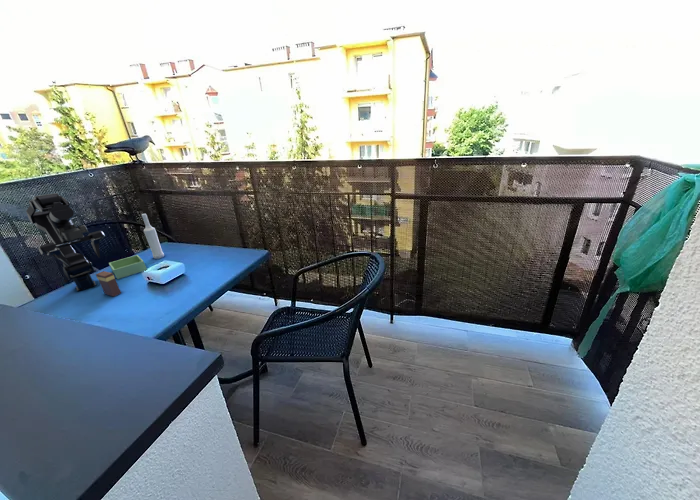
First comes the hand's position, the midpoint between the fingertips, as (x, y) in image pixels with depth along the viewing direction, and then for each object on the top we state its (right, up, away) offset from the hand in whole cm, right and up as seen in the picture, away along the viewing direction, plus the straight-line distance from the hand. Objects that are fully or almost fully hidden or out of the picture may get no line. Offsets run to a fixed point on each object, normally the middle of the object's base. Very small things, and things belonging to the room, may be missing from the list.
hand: (85, 261), depth 109 cm
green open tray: (-6, -6, +29) cm, 30 cm away
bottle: (-1, +1, +44) cm, 44 cm away
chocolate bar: (+3, -14, +10) cm, 18 cm away
